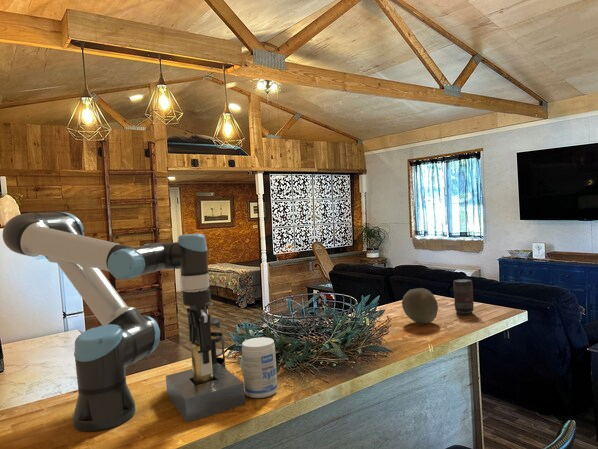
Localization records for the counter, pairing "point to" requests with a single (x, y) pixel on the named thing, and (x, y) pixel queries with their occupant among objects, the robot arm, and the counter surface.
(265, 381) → the supplement tub
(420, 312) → the cantaloupe
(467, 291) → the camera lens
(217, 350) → the french press
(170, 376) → the housing
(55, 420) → the counter surface
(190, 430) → the counter surface
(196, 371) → the end plug
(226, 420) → the counter surface
